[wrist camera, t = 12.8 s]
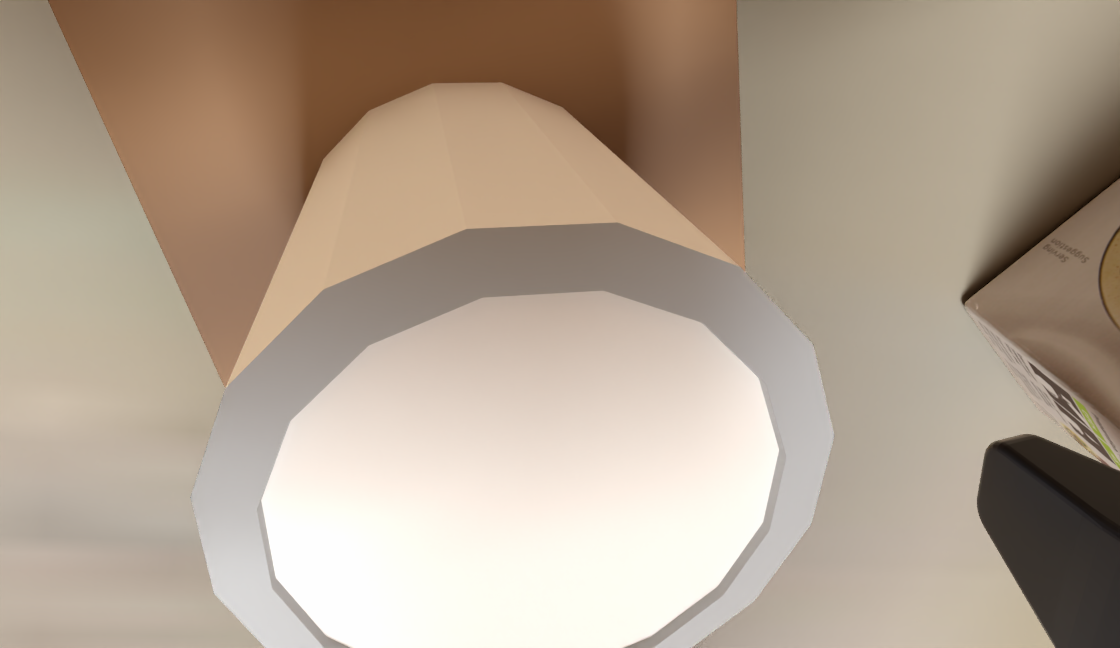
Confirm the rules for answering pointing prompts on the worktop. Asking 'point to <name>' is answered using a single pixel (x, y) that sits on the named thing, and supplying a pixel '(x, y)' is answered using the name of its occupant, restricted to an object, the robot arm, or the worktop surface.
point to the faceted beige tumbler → (504, 402)
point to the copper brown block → (368, 82)
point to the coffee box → (1065, 324)
